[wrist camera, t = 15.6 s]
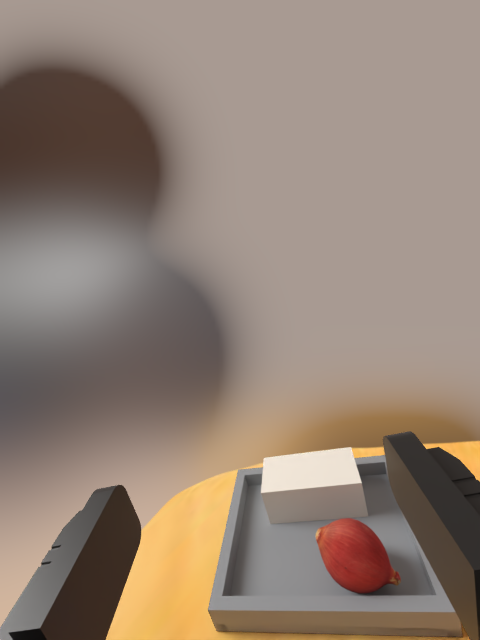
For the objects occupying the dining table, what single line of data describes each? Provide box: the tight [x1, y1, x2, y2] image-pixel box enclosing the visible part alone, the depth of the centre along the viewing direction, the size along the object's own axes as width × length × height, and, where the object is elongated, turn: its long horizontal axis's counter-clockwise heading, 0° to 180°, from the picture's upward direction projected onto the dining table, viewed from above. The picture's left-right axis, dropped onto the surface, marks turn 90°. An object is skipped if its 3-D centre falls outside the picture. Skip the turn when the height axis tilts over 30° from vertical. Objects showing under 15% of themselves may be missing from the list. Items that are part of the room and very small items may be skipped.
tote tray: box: [208, 455, 463, 637], centre depth 36 cm, size 22×18×3 cm
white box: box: [261, 447, 368, 524], centre depth 40 cm, size 12×6×5 cm, turn 82°
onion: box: [315, 518, 401, 594], centre depth 30 cm, size 6×6×8 cm
